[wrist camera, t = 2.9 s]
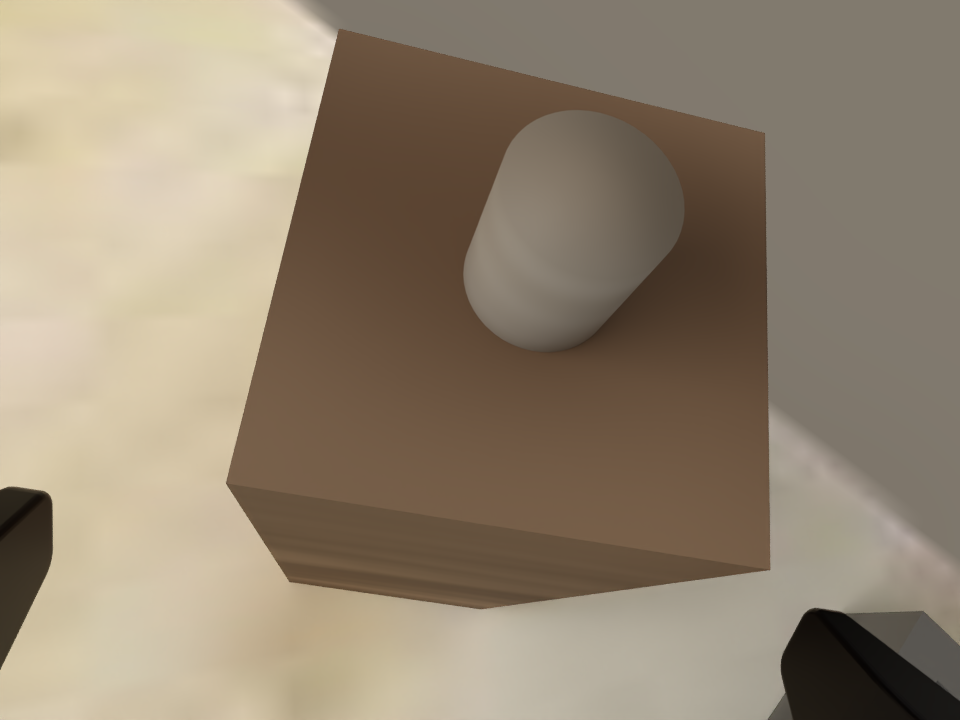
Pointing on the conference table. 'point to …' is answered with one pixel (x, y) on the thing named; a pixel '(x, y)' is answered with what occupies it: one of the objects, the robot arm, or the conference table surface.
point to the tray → (908, 649)
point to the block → (511, 342)
